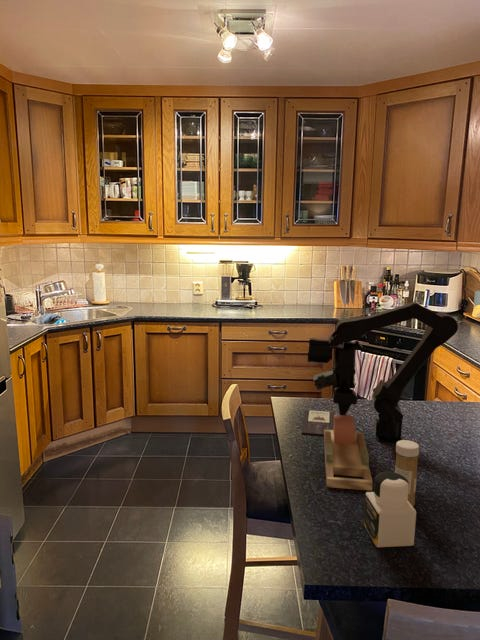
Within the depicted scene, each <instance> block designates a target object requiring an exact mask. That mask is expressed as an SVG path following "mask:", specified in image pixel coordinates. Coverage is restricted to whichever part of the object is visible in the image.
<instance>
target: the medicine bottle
mask: <svg viewBox="0 0 480 640" xmlns="http://www.w3.org/2000/svg"><path fill="white" fill-rule="evenodd" d="M373 483H374V485H373V490H374V491H366V492H365V498H364V514H363V515H364V517H363V526H364V527H365V530H366V531H367V532H368V535H369V537H370V538H371V540H372V541H373V544H374V545H375V547H376V548H391V547H392V548H394V547H411V546H414V545H415V535H416V534H415V533H416V532H415V531H416V521H417V511H416V509H415V508H414V506H412V505H411V504H410V503H409V501H408V487H409V482H408V480H407V479H406V478H405V477H404V476H402V475H400V474H398V473H395V471H382V472H379V473H377V474H376V475H375V477H374V482H373Z"/></svg>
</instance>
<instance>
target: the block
mask: <svg viewBox="0 0 480 640" xmlns="http://www.w3.org/2000/svg"><path fill="white" fill-rule="evenodd" d="M354 420H355V419H354V416H353V415H352V414H351V415H349V414H348V415H347V414H346V415H340V414H335V413H334V426H333V434H334V443H335V444H347V445H354V435H355V431H356V426H355V425H356V424H355V422H354Z"/></svg>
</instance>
